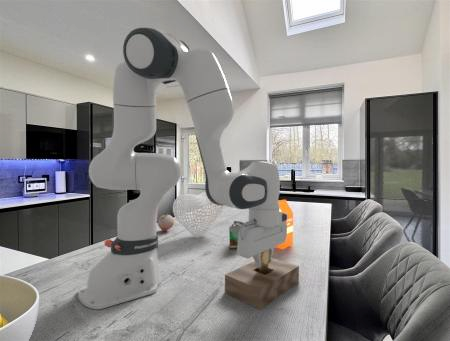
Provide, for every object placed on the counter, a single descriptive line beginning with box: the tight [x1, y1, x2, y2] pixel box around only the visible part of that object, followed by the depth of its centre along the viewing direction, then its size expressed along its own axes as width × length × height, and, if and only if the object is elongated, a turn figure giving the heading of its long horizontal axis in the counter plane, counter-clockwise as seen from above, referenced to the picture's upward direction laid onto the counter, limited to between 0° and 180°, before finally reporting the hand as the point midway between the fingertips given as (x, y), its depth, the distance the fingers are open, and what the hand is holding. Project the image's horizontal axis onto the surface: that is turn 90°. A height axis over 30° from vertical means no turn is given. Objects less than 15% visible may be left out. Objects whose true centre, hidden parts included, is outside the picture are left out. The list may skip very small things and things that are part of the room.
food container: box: [228, 220, 244, 251], centre depth 109 cm, size 12×6×10 cm, turn 168°
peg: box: [258, 250, 269, 275], centre depth 72 cm, size 3×3×10 cm
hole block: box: [224, 257, 300, 310], centre depth 72 cm, size 20×12×5 cm, turn 137°
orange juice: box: [275, 199, 294, 250], centre depth 112 cm, size 8×9×20 cm
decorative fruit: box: [157, 212, 175, 232], centre depth 133 cm, size 9×8×10 cm
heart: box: [172, 191, 224, 239], centre depth 122 cm, size 28×16×22 cm, turn 140°
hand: (263, 264), depth 72 cm, fingers closed on peg, 3 cm apart
